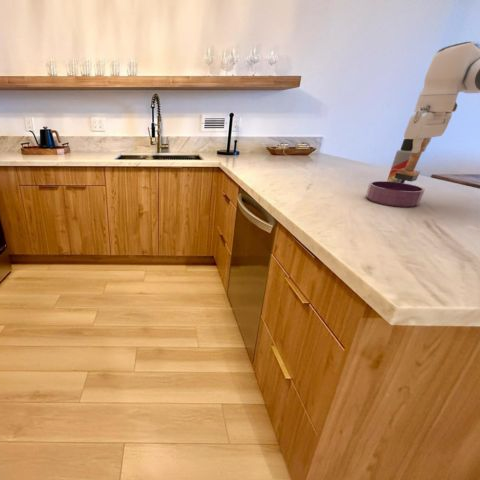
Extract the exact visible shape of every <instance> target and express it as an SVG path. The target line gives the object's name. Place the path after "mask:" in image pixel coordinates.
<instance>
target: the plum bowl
mask: <svg viewBox="0 0 480 480" xmlns="http://www.w3.org/2000/svg"><path fill="white" fill-rule="evenodd" d="M424 193H425V188H423V187H421V186H418V185H416V184H411V183H405V182H404V183H399V182H389V181H387V180H376V181H375V180H374V181H371V182H369V185H368V187H367V191H366V194H365V197H366V198H367V199H368V200H369V201H371V202H373V203H376V204H379V205H383V206H384V205H385V206H389V207H397V208H409V207H410V208H412V207H415V206H417V205H419V204H421V200H422V198H423V197H424V196H423V195H424Z"/></svg>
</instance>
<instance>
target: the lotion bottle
mask: <svg viewBox="0 0 480 480" xmlns="http://www.w3.org/2000/svg"><path fill="white" fill-rule="evenodd" d="M413 140H414V139H405V138H403V141H402V143H401V146H400V149H398V150H396V153H395V155H394V159H393V162H392V164H391V168H390V170H389V174H388V177H387V179H386V181H389V182H399V183H405V182H406V180H401V179H397V178H394V177H395V175H396V173H397V171H398V169H402V168H406V166H407V163H408V161H409V159H410V157H411V154H412V149H413Z"/></svg>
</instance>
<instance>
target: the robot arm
mask: <svg viewBox="0 0 480 480" xmlns="http://www.w3.org/2000/svg"><path fill="white" fill-rule="evenodd" d="M423 81H424V82H423V88H422V90H421V91H420V93H419V95H418V98H417V102H416V104H415V108H414V111H413V112H414V113H413V114H412V115H411V116H410V118H409V121H408V123H407V126H406V128H405V131H404V133H403V136H404V137H403V139H414V140H413V149H412V153H419V152H420V150H421V148H422V147H421V144H422V142H423V140H424V139H425V140H427V143H426V145H425V147H424V149H423V151H422V153H424V152H426V150H427V147H428V146H429V144H430V142H431V141H432V139H433V138H438V137H441V136H443V134H444V133H445V132H446V130H447V128H448V126H449V123H450V122H451V119H452V116H453V113H455V112H456V111H457V109H458V103H457V99H458V96H459V93H464V94H480V48H479V47H478V46H476V45H475V43H474V42H473V41H463V42H459V43H455V44H452V45H451V44H450V45H448V46H444V47H442V48H441V49H439V50H438V51H436V53H435V54H434V56H433V57H432V60H431V61H430V64H429V67H428V69H427V72H426V74H425V77H424V80H423Z"/></svg>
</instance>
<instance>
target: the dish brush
mask: <svg viewBox="0 0 480 480" xmlns="http://www.w3.org/2000/svg"><path fill="white" fill-rule="evenodd" d="M426 143H427V140H425V139H424V140H423V142H422V144H421V147H422V148H421V150H420V152H419V153H412V154H411V157H410V159H409V161H408V163H407V166H406V168H402V169H398V171H397V173H396V175H395V177H394V178H397V179H401V180H405V182H406V181H407V182H410V183H412V182H416V181H417V180H418V177H419V175H420V173H421V171H419V170H415V169H416V167H417V164H418V162H419V160H420V158H421V156H422V154H423V152H422V151H423V149H424V147H425V145H426Z"/></svg>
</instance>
